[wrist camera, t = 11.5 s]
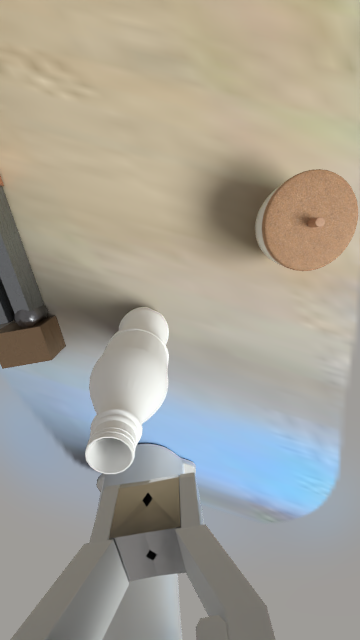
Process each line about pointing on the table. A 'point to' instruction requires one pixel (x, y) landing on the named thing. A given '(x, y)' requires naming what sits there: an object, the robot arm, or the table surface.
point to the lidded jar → (307, 220)
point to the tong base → (26, 338)
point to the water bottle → (127, 389)
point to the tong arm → (18, 271)
